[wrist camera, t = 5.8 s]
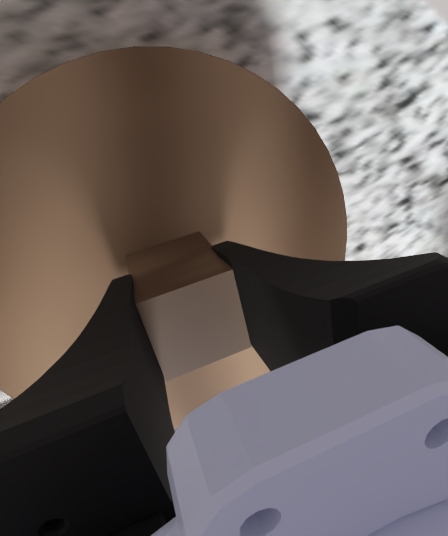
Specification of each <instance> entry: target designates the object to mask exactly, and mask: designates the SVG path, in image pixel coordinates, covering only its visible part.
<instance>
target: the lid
mask: <svg viewBox="0 0 448 536" xmlns="http://www.w3.org/2000/svg"><path fill="white" fill-rule="evenodd" d="M224 241H232V242H236V243H239V244H243V245H246V246H250V247H253V248H257V249H260V250H264V251H268V252H272V253H276V254H281V255H286V256H291V257H297V258H304V259H314V260H326V261H344V260H345V251H346V242H347V217H346V209H345V202H344V195H343V191H342V187H341V184H340V180H339V176H338V173H337V170H336V168H335V165H334V163H333V161H332V158H331V156H330V154H329V151H328V149H327V148H326V146H325V144H324V143H323V141H322V139H321V138H320V136H319V134H318V133H317V131H316V129H315V128H314V127H313V125H312V124H311V123H310V122H309V120H308V119H307V118H306V117H305V115H304V114H303V113H302V112H301V111H300V109H299V108H298V107H297V106H296V105H295V104H294V103H292V102H291V101H290V100H289V99H288V98H287V97H286V96H285V95H284V94H283V93H282V92H281V91H279V90H278V89H277V88H275V87H274V86H272V85H271V84H269V83H268V82H266V81H265V80H264V79H262V78H261V77H259V76H258V75H256V74H254V73H252V72H250V71H248V70H246V69H244V68H242V67H240V66H238V65H236V64H234V63H232V62H230V61H227V60H224V59H221V58H218V57H214V56H211V55H208V54H205V53H202V52H198V51H191V50H185V49H178V48H172V47H128V48H121V49H115V50H108V51H101V52H97V53H94V54H91V55H88V56H84V57H81V58H78V59H75V60H71V61H68V62H66V63H64V64H61V65H59V66H57V67H55V68H53V69H51V70H49V71H47V72H45V73H43V74H41V75H39V76H37V77H35V78H33V79H32V80H31V81H29V82H28V83H26V84H25V85H23V86H22V87H21V88H19V89H18V90H16V91H15V92H13V93H12V94H11V95H9V96H8V97H6V98H5V99H4V100H3V101H2V102H1V103H0V390H1V391H3V392H4V393H6V394H7V395H9V396H10V397H11V398H13V399H15V398H16V397H17V396H19V395H20V394H21V393H22V392H24V391H25V390H26V389H27V388H28V387H30V386H31V385H32V384H33V383H34V382H35V381H37V380H38V379H39V378H40V377H41V376H42V375H43V374H44V373H45V372H46V371H47V370H48V369H49V368H50V367H51V366H52V365H53V364H54V363H55V362H56V361H57V360H58V359H59V358H60V357H61V356H62V355H63V354H64V353H65V352H66V351H67V350H68V348H69V347H70V346H71V345H72V344H73V343H74V341H75V340H76V339H77V338H78V336H79V335H80V334H81V332H82V331H83V330H84V328H85V327H86V325H87V323H88V322H89V320H90V319H91V317H92V316H93V314H94V313H95V311H96V309H97V307H98V306H99V304H100V302H101V300H102V298H103V296H104V294H105V292H106V290H107V288H108V286H109V285H110V283H111V281H112V280H113V279H116V278H119V277H122V276H124V275H127V274H129V275H131V274H132V278H133V282H134V300H135V304H136V307H137V309H138V312H139V315H140V317H141V320H142V322H143V325H144V327H145V330H146V332H147V335H148V337H149V340H150V342H151V345H152V347H153V350H154V353H155V355H156V358H157V360H158V363H159V365H160V368H161V370H162V373H163V375H164V380H165V386H166V392H167V398H168V404H169V410H170V414H171V419H172V423H173V427H174V429H176V428H178V427H179V426H180V424H181V422H182V421H183V419H184V418H185V416H186V415H187V414H189V413H190V412H192V411H193V410H195V409H196V408H198V407H199V406H201V405H202V404H204V403H205V402H207V401H208V400H210V399H211V398H213V397H214V396H216V395H217V394H219V393H221V392H223V391H225V390H228V389H230V388H233V387H235V386H237V385H240V384H242V383H244V382H247V381H249V380H252V379H254V378H256V377H259V376H261V375H263V374H266V373H268V372H270V370H269V369H268V367H267V366H266V364H265V363H264V362H263V360H262V359H261V358H260V356H259V355H258V354H257V352H256V351H255V350H254V348H253V347H252V345H251V343H250V339H249V335H248V331H247V326H246V322H245V318H244V314H243V310H242V306H241V302H240V297H239V293H238V289H237V285H236V281H235V277H234V273H233V269H232V268H231V267H230V266H229V265H228V264H227V263H226V262H224V261H223V260H222V259H221V258H220V257H218V256H217V254H216V253H215V252H214V251H213V250H212V249H211V247H213V245H215V244H218V243H221V242H224Z"/></svg>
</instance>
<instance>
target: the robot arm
mask: <svg viewBox="0 0 448 536" xmlns="http://www.w3.org/2000/svg"><path fill="white" fill-rule="evenodd" d="M211 249H212V250H213V251H214V252H215V253H216V254H217V256H218V257H220V258H221V259H222V260H223V261H224V262H226V263H227V264H228V265H229V266H230V267H231V268H232V269H233V273H234V277H235V281H236V285H237V289H238V293H239V297H240V302H241V306H242V310H243V314H244V318H245V322H246V326H247V331H248V335H249V339H250V343H251V345H252V347H253V348H254V350H255V351H256V352H257V354H258V355H259V356H260V358H261V359H262V360H263V362H264V363H265V364H266V366H267V367H268V369H269V370H270V372H268V373H266V374H263V375H261V376H259V377H256V378H254V379H252V380H249V381H247V382H244V383H242V384H240V385H237V386H235V387H233V388H230V389H228V390H225V391H223V392H221V393H219V394H217V395H216V396H214V397H213V398H211V399H210V400H208V401H207V402H205V403H204V404H202V405H201V406H199V407H198V408H196V409H195V410H193V411H192V412H190V413H189V414H187V415H186V416H185V418H184V419H183V421H182V422H181V424H180V426H179V427H178V429H177V430H176V432H175V430H174V427H173V423H172V419H171V414H170V410H169V404H168V398H167V392H166V386H165V380H164V375H163V373H162V370H161V368H160V365H159V363H158V360H157V358H156V355H155V353H154V350H153V347H152V345H151V342H150V340H149V337H148V335H147V332H146V330H145V327H144V325H143V322H142V320H141V317H140V315H139V312H138V309H137V307H136V304H135V300H134V282H133V278H132V274H131V275H129V274H127V275H124V276H122V277H119V278H116V279H113V280H112V281H111V283H110V285H109V286H108V288H107V290H106V292H105V294H104V296H103V298H102V300H101V302H100V304H99V306H98V307H97V309H96V311H95V313H94V314H93V316H92V317H91V319H90V320H89V322H88V323H87V325H86V327H85V328H84V330H83V331H82V332H81V334H80V335H79V336H78V338H77V339H76V340H75V341H74V343H73V344H72V345H71V346H70V347H69V348H68V350H67V351H66V352H65V353H64V354H63V355H62V356H61V357H60V358H59V359H58V360H57V361H56V362H55V363H54V364H53V365H52V366H51V367H50V368H49V369H48V370H47V371H46V372H45V373H44V374H43V375H42V376H41V377H40V378H39V379H38V380H37V381H35V382H34V383H33V384H32V385H31V386H30V387H28V388H27V389H26V390H25V391H24V392H22V393H21V394H20V395H19V396H17V397H16V398H15V399H14V400H12V401H11V402H10V403H8V404H7V405H6V406H4V407H3V408H2V409H0V536H448V258H447V257H444V256H442V255H440V254H438V253H435V252H434V253H427V254H420V255H413V256H407V257H400V258H392V259H380V260H367V261H326V260H314V259H304V258H297V257H291V256H286V255H281V254H276V253H272V252H268V251H264V250H260V249H257V248H253V247H250V246H246V245H243V244H239V243H236V242H232V241H224V242H221V243H218V244H215V245H213V247H211Z"/></svg>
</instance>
